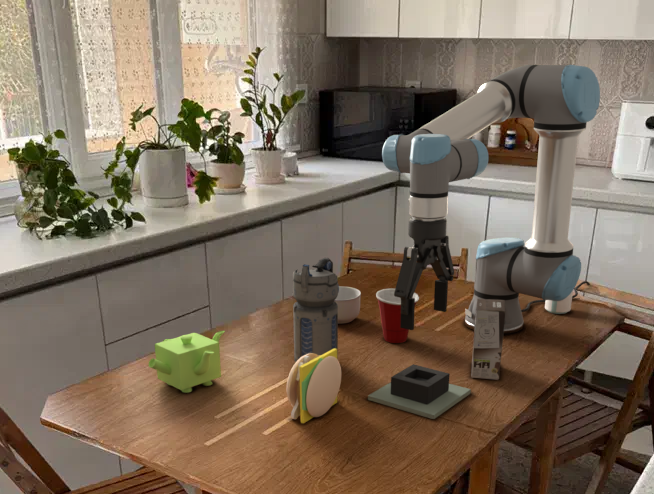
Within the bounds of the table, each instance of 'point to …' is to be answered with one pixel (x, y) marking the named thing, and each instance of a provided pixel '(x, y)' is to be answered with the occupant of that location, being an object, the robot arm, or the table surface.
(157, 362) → the kettle
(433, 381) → the dark gray square ring
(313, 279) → the beverage bottle
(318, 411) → the hamburger
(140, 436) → the table surface
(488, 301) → the coffee box
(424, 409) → the base pad
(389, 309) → the plastic cup
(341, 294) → the teacup
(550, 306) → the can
